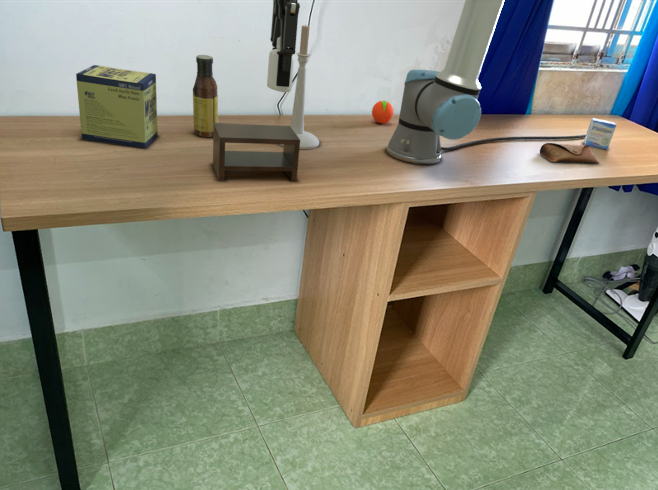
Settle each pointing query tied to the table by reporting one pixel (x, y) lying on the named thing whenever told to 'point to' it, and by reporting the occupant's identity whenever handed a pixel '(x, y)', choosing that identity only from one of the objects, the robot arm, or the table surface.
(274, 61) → the eye dropper bottle
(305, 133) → the candlestick
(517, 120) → the table surface
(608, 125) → the medicine box
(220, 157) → the dark brown wooden stand
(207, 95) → the sauce bottle
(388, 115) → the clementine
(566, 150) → the sunglasses case
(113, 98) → the protein box
